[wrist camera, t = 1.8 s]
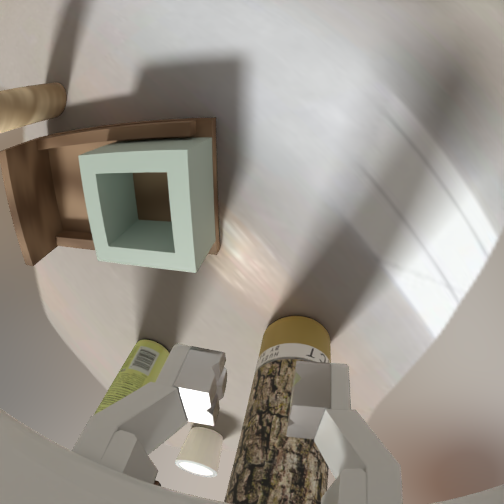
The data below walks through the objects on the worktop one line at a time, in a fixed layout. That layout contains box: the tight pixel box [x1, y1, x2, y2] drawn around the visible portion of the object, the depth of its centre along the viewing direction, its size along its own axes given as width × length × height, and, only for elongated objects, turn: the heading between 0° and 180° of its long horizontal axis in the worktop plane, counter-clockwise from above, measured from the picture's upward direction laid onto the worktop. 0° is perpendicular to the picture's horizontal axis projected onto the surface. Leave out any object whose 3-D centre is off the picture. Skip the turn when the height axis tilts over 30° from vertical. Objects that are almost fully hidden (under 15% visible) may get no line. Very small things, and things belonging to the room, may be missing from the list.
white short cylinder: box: [175, 427, 223, 477], centre depth 42 cm, size 7×7×7 cm
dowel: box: [0, 83, 67, 133], centre depth 19 cm, size 4×4×9 cm
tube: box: [94, 340, 170, 415], centre depth 28 cm, size 6×5×20 cm
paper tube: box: [224, 316, 331, 504], centre depth 20 cm, size 7×7×25 cm
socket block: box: [78, 137, 216, 273], centre depth 22 cm, size 8×8×5 cm
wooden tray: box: [0, 118, 220, 266], centre depth 23 cm, size 11×18×6 cm, turn 90°
